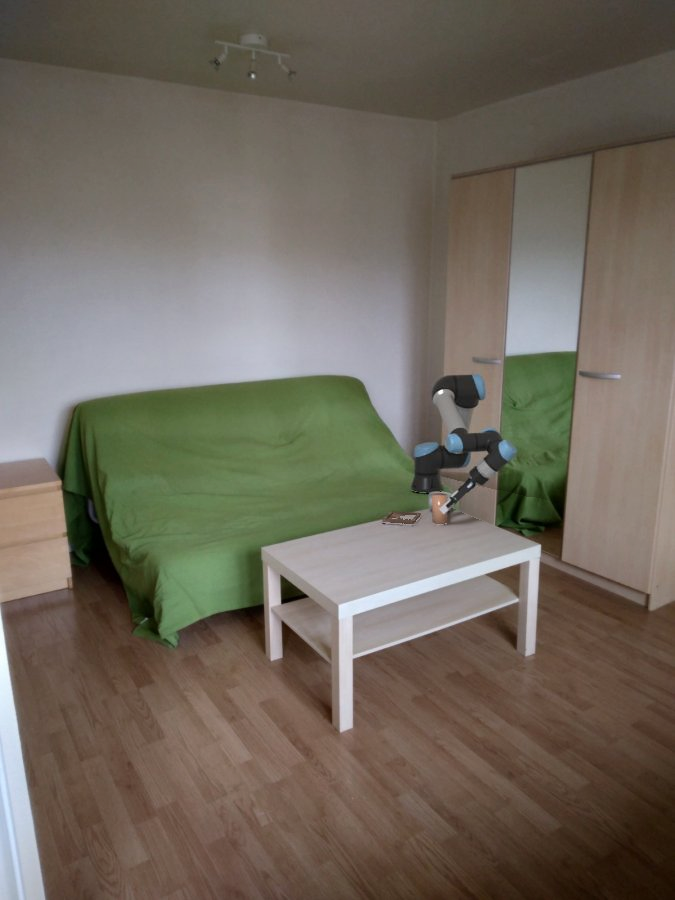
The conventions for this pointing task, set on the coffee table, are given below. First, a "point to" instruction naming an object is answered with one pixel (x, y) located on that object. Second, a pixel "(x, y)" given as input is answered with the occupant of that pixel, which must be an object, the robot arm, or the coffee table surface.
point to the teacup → (435, 493)
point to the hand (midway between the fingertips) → (444, 507)
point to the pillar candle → (437, 503)
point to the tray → (397, 514)
